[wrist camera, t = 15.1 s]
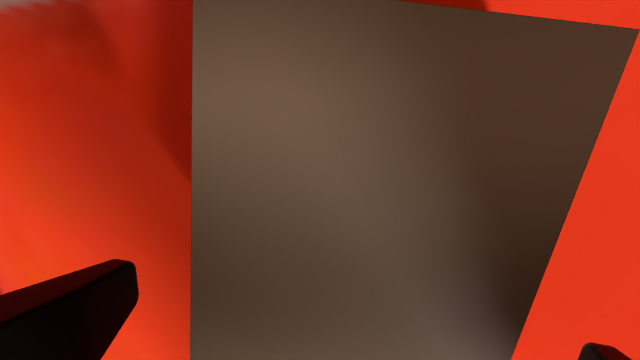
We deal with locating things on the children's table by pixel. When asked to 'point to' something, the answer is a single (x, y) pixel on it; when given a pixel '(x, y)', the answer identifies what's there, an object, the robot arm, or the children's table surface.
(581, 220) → the children's table surface
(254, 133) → the walnut block
